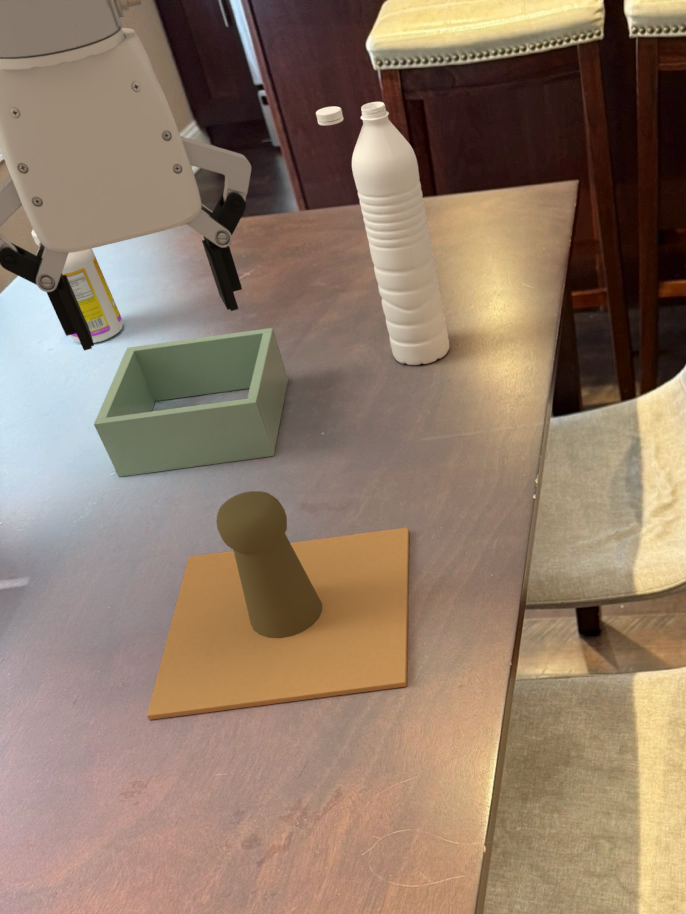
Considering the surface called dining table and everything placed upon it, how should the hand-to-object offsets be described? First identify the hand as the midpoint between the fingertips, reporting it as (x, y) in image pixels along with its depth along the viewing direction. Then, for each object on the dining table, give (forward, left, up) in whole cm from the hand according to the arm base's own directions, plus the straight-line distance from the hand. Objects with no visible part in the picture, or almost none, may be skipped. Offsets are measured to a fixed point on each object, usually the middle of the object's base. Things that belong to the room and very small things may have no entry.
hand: (159, 321), depth 67 cm
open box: (-10, +32, -25) cm, 41 cm away
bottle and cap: (+12, +42, -25) cm, 50 cm away
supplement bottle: (-28, +59, -25) cm, 70 cm away
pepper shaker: (+2, -2, -24) cm, 25 cm away
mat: (+2, -2, -25) cm, 25 cm away
